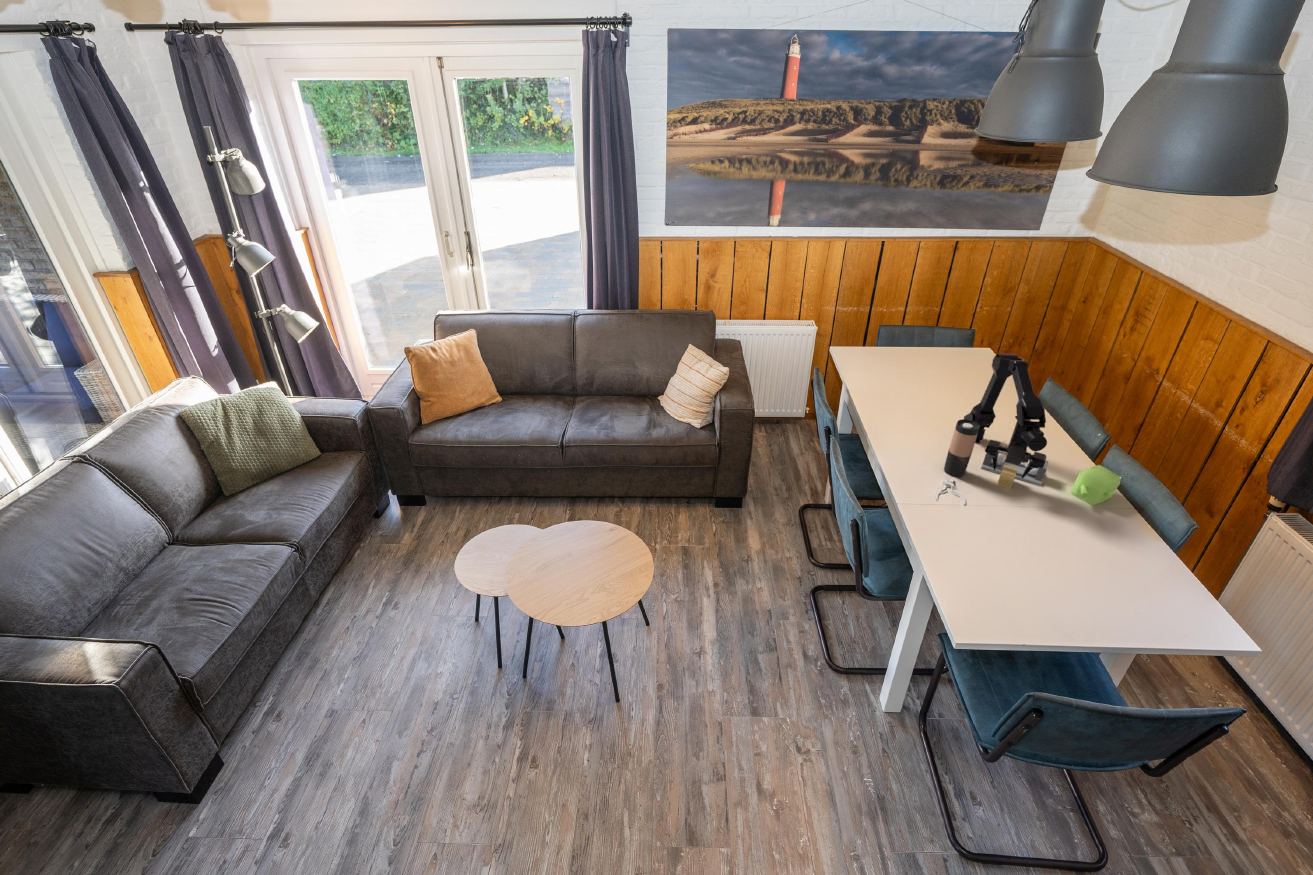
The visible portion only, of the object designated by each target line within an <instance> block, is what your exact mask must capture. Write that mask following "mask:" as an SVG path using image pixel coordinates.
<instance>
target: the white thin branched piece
mask: <svg viewBox="0 0 1313 875" xmlns="http://www.w3.org/2000/svg"><path fill="white" fill-rule="evenodd" d="M950 477H951V478H950V479H949V480H948V479H947V477H946V475H943V476H942V478H941V480H942V483H943V486H941V487H939V488H937V489H936V490H935V493H934V500H936V501H938V499H939V495H940V494H945V493H947V492H948V490H946V489H947V488H950V490H951V491H950V493H951V494H952V495H954V496H956V497H958V498H960V500H961V501H962V504H963V506H966V498H965V497H964V495H963V494H962V493H961V491H959V490H958V489H956V486H955V484H954V477H953V476H950Z"/></svg>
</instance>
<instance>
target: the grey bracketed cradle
mask: <svg viewBox="0 0 1313 875" xmlns="http://www.w3.org/2000/svg"><path fill="white" fill-rule="evenodd" d="M1005 456H1006V454H1005V453H1004V454H1003V453H1002V452H1001V453H1000V452H999V455H998V460H997V465H996V468H995V470H994V467H993V459H992V456H991V455H989V454H988V453H986V452H985V454H984V458H983V462H982V465H981V467H980V469H982V470H984V471H988V472H991V473H995V474H998V475H1000V474H1001V471H1002V469H1003V466H1004V464H1005V465H1008V466H1012V467H1015V468H1018V469H1017V473H1016V476H1015V479H1014V480H1018V481H1023V482H1025V483H1029V484H1032V485H1036V486H1039V487H1041V486H1042V483H1043V479H1044V477H1045V475H1046V472H1047V470H1048V467H1049V466H1048V465H1049V460H1046V461H1045V464H1044V467H1043V468H1040V467H1039V468H1033V469H1032V470H1030V471H1029V472H1028V473H1027V475H1026V476H1025V477H1024V478H1022V475H1023V473H1024V471H1025V469H1026V467H1027V465H1028V463H1029V461H1028V463H1026V464H1025V463H1021V464H1020V465H1016V464H1014V463H1011V462H1007V461H1006V460H1005Z"/></svg>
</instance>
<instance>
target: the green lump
mask: <svg viewBox="0 0 1313 875" xmlns="http://www.w3.org/2000/svg"><path fill="white" fill-rule="evenodd" d="M1121 480H1122V477H1121V476H1119V475H1118V474H1116V473H1114V472H1113V471H1111V470H1110V469H1108V468H1106V467H1104V466H1103V465H1100V464H1097V465H1094V466H1091V467H1089V468H1087V469H1084V470H1082V471H1079V473H1078V476H1077V478H1076V480H1075V482H1074V484H1073V486H1072V488H1071V490H1070V493H1071V494H1072V495H1073V496H1075V497H1076V498H1079V499H1080V500H1082V501H1084V502H1086V503H1088V504H1089V505H1091V506H1095V505H1098V504H1100V503H1103V502H1105V501H1107V500H1110V499H1111V498H1112V497H1113V496H1114V494H1115V492H1116V489H1117V488H1119V486H1120V485H1121Z"/></svg>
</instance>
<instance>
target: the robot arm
mask: <svg viewBox="0 0 1313 875" xmlns="http://www.w3.org/2000/svg"><path fill="white" fill-rule="evenodd" d="M1028 366H1029V364H1028V361H1025V359H1024V358H1022V357H1019V356H1018V355H1017V354H1016V353H997V354H995V355H994V357H993V359H992V363H991V368H992V371H993V372H992V376H991V377H990V380H989V382H988V385H987V386H986V388H985V391H984V393H983V395H982V398H981V400H980V402H979V403H977V404H976V405H975V406H973V407H972V409H971V411H970V412H969V413H967V414H966V415H964V416H963V419H966V420H971V421H974V422H976V423H977V424H979V426H980V427H979V431H978V434H977V438H976V441H975V443H976V444H980V443H981V441H983V439H984V436H985V433H986V428H988V429H989V428H990V427H991V425H992V424H994V421H995V418H996V414H995V410H994V408H995V405H996V403H997V400H998V398H999V397H1000V395H1001V392H1002V390H1003V388H1004V385H1006V384H1005V383H1006V381H1007V380H1008V378H1009V377H1011V376H1012V380H1013V383H1014V387H1015V390H1016V394H1017V398H1018V401H1017V403H1016V405H1015V409H1016V412H1015V413H1016V415H1015V416H1014V418H1015V419H1016V423H1015V426H1014V429H1013V432H1012V434H1011V438H1010V440H1009V443H1008V446H1007V447H1005V446H1002V442H1001V441H998V440H995V439H994V440H993V439H989V440H988V441H987V443H986V444H987V445H986V446H985V449H984V452H985V454H986V453H988V454H989V455H991V456H992V459H993V467H994V470H995V468H996V465H997V460H998V455H999V453H1000V452H1001V453H1002V454H1003V453H1004V454H1006V455H1005V456H1006V457H1005V458H1004V460H1006V461H1007V462H1011V463H1014V464H1016V465H1020V464H1025V463H1026V466H1027V467H1026V469H1025V471H1024V473H1023V475H1022V478H1024V477H1025V476H1026V475H1027V473H1028V472H1029V471H1030V470H1032V469H1033V468H1039V467H1040V468H1043V467H1044V464H1045V461H1047V457H1048V456H1047V455H1046V453H1045V454H1044V453H1043V452H1042V453H1041V452H1040V451H1041V450H1044V449H1045V448H1046V446H1047V444H1048V440H1047V438H1046V437H1045V433H1044V431H1043V430H1041V428H1042V429H1045V428H1046V423H1047V419H1046V411H1045V410H1046V409H1045V407H1044V404H1043V402H1042V400H1041V399H1040V398H1039V397H1038V396H1037V395H1035V391H1034V388H1033V384H1032V381H1031V378H1030V377H1031V376H1030V374H1029V369H1028ZM1028 449H1029V450H1031V451H1032V452H1033V454H1031V452H1029V451H1027V450H1028ZM1028 462H1029V463H1028ZM1027 464H1028V465H1027Z"/></svg>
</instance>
